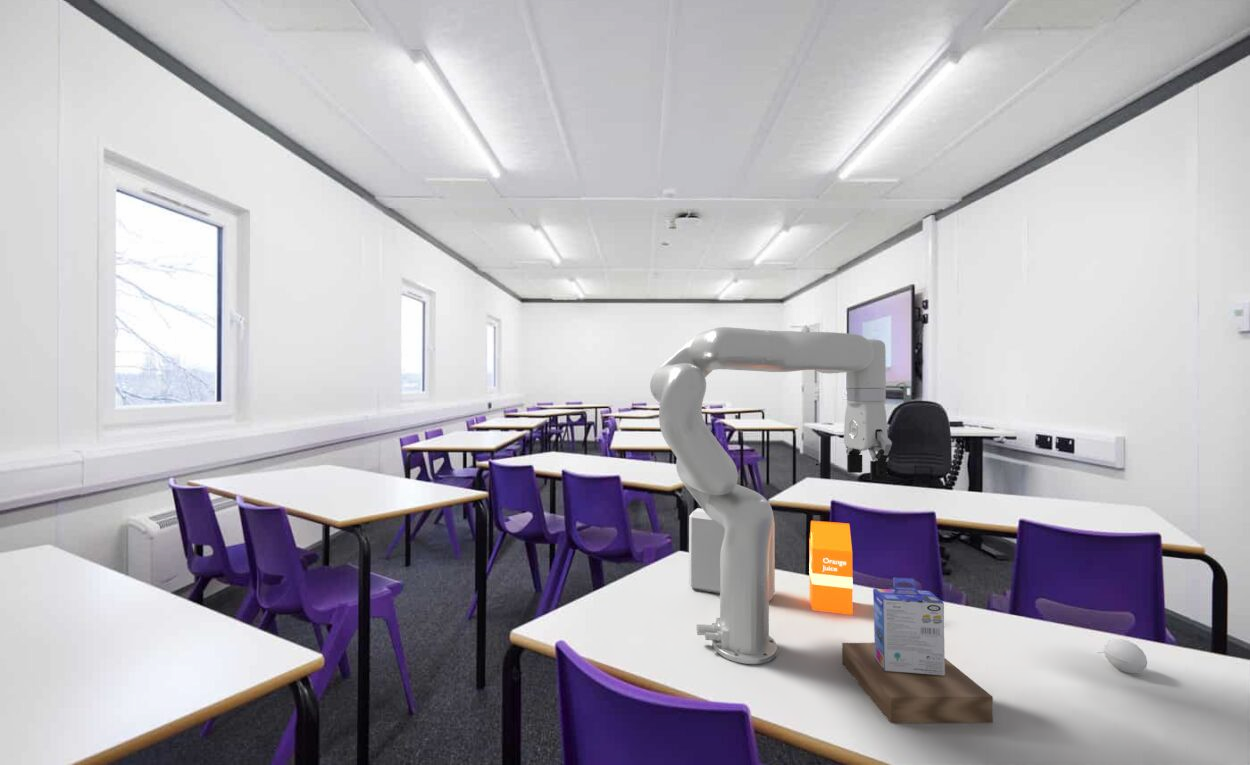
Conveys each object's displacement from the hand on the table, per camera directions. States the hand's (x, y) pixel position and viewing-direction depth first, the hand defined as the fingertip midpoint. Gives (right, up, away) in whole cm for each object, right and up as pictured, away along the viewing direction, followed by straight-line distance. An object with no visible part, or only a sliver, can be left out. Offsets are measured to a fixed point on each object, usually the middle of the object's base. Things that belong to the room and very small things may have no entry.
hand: (866, 476), depth 103 cm
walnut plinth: (-3, -33, -21) cm, 39 cm away
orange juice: (-2, -34, +12) cm, 36 cm away
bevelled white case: (-25, -34, +20) cm, 46 cm away
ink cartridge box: (-3, -29, -20) cm, 35 cm away
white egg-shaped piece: (+40, -34, -14) cm, 54 cm away
